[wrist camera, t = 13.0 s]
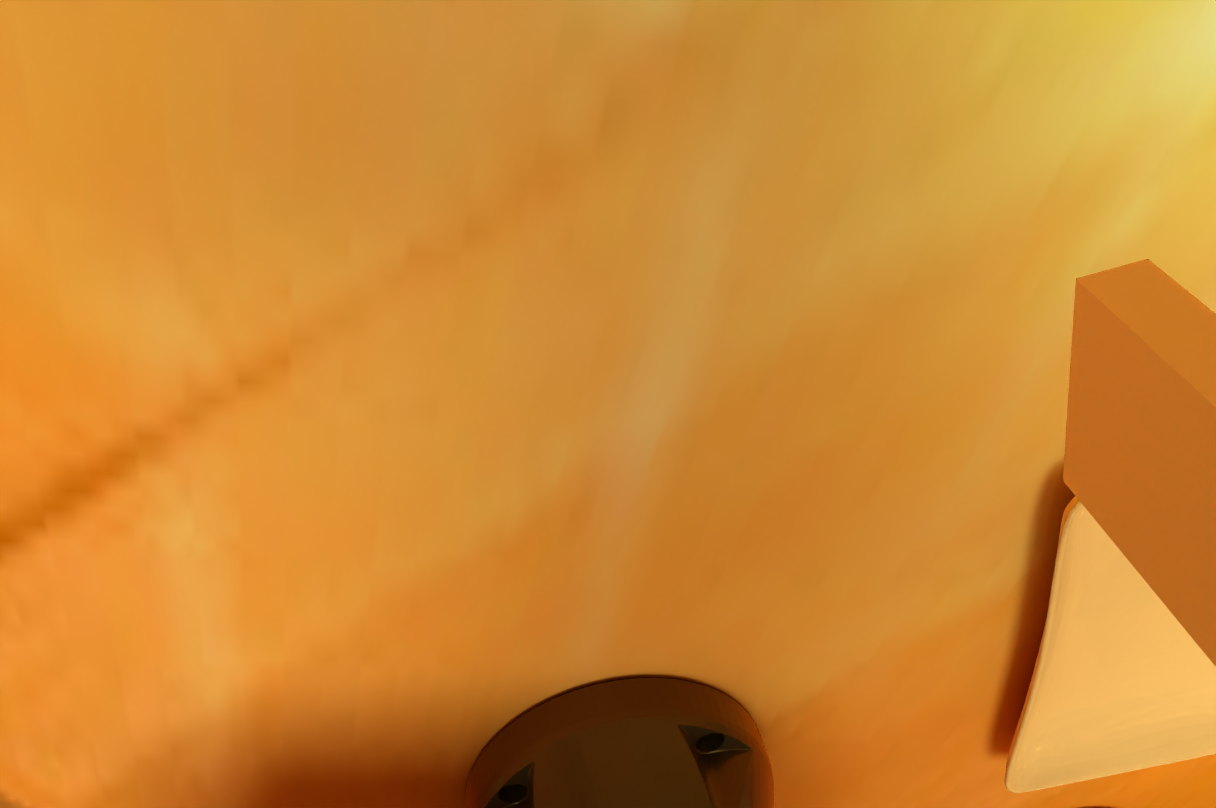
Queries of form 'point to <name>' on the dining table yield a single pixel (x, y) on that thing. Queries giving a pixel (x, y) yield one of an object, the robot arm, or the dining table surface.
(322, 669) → the dining table surface
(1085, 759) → the salad plate
